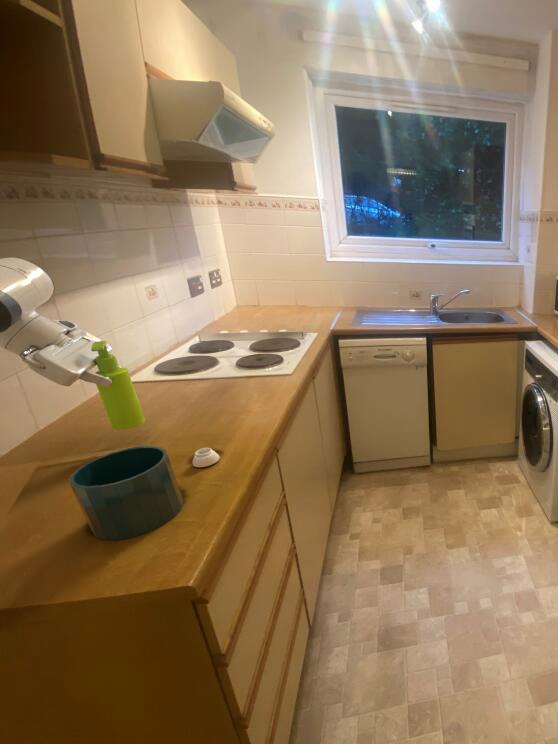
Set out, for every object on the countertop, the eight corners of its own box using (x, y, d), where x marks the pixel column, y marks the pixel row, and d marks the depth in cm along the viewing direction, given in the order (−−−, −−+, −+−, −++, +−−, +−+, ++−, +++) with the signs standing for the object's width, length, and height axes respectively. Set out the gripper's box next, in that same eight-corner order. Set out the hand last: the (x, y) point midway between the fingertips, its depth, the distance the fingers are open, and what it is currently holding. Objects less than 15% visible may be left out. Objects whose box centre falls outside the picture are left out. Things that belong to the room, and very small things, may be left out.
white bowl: (218, 454, 101) (192, 461, 98) (214, 443, 99) (188, 450, 96) (221, 463, 97) (194, 471, 94) (218, 452, 96) (190, 459, 93)
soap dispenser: (110, 434, 97) (77, 349, 89) (114, 421, 102) (83, 340, 94) (143, 427, 100) (114, 345, 92) (146, 415, 105) (118, 336, 97)
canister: (79, 549, 73) (53, 495, 68) (109, 503, 84) (88, 455, 80) (174, 527, 78) (155, 476, 74) (190, 487, 89) (174, 440, 85)
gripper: (25, 342, 81) (109, 383, 88) (73, 318, 98) (140, 354, 106) (2, 368, 81) (88, 407, 88) (54, 339, 98) (123, 374, 106)
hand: (116, 378), depth 97 cm, fingers closed on soap dispenser, 6 cm apart
